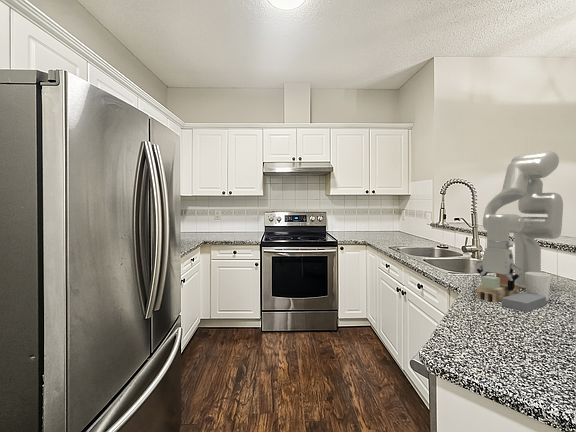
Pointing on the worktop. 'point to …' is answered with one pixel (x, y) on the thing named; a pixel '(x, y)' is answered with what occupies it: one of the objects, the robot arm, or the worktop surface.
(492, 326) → the worktop surface
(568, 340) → the worktop surface
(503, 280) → the salmon square box
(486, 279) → the pale green block
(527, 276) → the white cup
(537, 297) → the dock
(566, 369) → the worktop surface
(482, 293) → the long beige board
